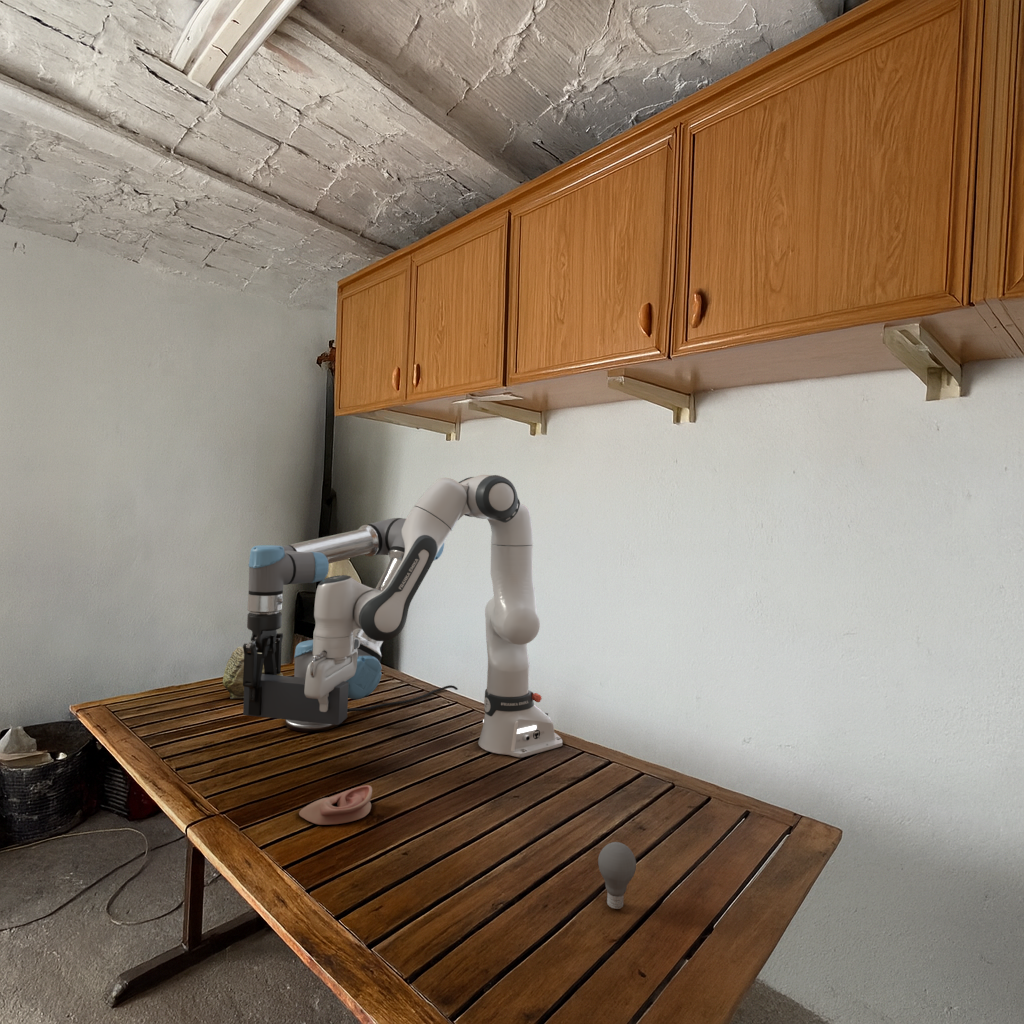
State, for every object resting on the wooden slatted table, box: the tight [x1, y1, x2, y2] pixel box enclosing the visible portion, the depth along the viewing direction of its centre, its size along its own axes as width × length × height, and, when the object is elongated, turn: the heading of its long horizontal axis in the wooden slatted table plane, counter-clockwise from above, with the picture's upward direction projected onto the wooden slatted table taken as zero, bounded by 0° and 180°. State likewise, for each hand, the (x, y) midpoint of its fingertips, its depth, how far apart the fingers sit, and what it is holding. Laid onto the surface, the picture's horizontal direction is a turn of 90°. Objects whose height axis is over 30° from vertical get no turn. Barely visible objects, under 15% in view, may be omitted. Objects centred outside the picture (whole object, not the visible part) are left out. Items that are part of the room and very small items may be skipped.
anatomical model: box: [298, 784, 373, 826], centre depth 127 cm, size 13×4×12 cm
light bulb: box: [597, 841, 637, 910], centre depth 101 cm, size 6×6×10 cm
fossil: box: [222, 646, 284, 699], centre depth 198 cm, size 9×18×15 cm, turn 132°
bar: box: [242, 674, 349, 726], centre depth 147 cm, size 23×5×8 cm, turn 81°
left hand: (261, 710), depth 148 cm, fingers closed on bar, 5 cm apart
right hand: (330, 706), depth 146 cm, fingers closed on bar, 5 cm apart
